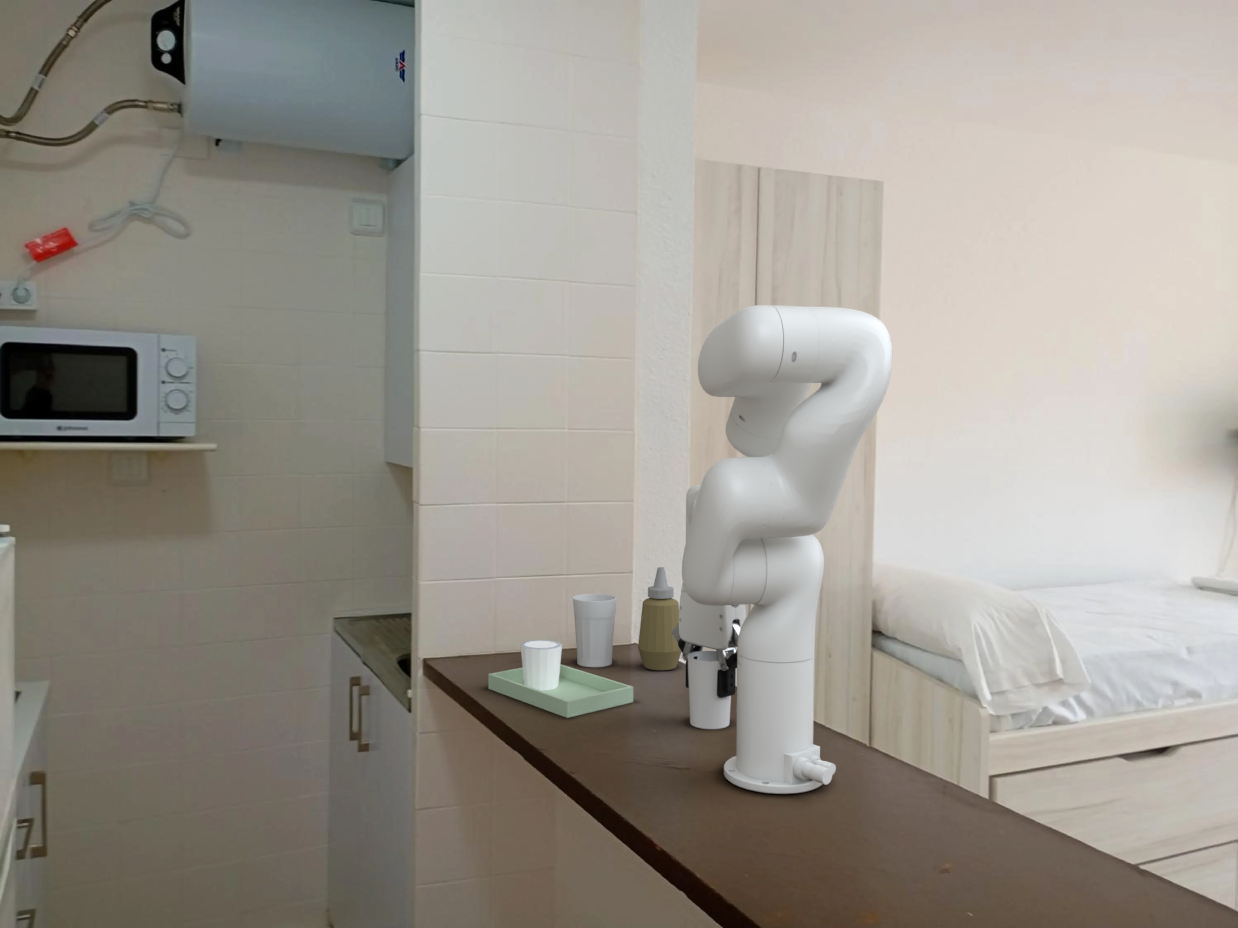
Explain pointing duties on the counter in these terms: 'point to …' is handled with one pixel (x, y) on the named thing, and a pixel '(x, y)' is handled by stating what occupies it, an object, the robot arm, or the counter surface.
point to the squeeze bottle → (659, 626)
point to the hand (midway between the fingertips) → (710, 689)
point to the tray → (564, 691)
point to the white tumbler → (706, 692)
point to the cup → (594, 628)
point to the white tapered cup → (541, 664)
